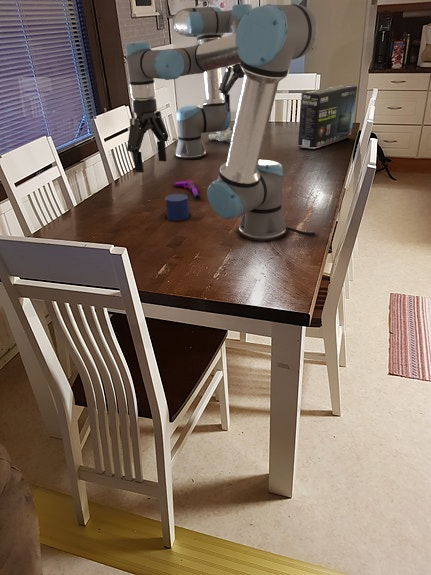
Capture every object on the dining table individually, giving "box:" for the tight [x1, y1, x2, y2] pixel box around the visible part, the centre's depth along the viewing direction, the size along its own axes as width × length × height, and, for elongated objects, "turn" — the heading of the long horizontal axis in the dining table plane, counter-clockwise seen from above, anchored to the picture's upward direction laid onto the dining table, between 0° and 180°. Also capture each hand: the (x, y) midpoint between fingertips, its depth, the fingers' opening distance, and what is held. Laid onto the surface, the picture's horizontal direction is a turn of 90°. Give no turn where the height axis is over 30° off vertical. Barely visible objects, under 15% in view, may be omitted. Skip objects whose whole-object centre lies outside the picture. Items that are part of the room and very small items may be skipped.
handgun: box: [174, 179, 200, 201], centre depth 185 cm, size 21×8×2 cm, turn 11°
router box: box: [297, 84, 358, 151], centre depth 238 cm, size 36×11×27 cm, turn 134°
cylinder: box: [165, 193, 190, 222], centre depth 162 cm, size 8×8×7 cm
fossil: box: [208, 126, 234, 144], centre depth 258 cm, size 18×11×15 cm
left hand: (242, 109), depth 187 cm, fingers open, 13 cm apart
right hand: (151, 166), depth 153 cm, fingers open, 13 cm apart
